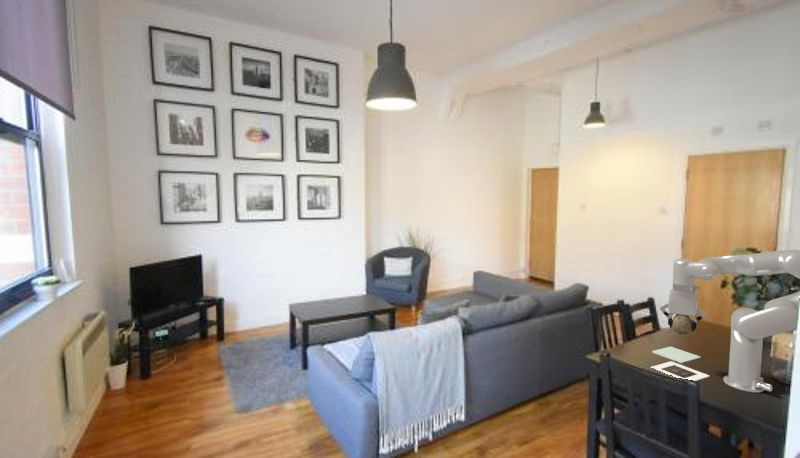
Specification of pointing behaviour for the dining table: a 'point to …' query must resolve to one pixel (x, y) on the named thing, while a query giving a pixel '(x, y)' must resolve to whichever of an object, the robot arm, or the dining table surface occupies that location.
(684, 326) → the decorative egg
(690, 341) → the dining table surface
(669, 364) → the white square frame
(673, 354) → the sage mat
